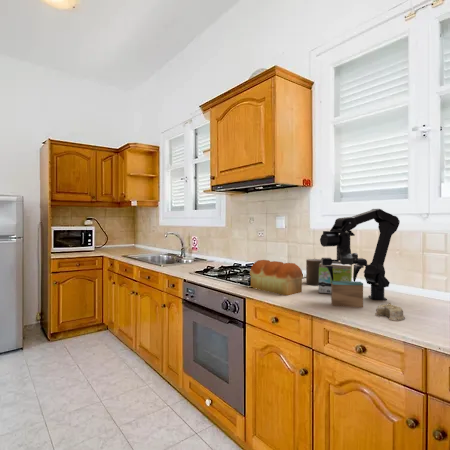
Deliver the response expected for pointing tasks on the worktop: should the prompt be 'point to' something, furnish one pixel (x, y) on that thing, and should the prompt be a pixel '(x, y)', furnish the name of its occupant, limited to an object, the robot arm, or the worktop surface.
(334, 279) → the tea box
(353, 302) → the slab
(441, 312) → the worktop surface
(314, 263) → the pillar candle
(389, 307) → the cake
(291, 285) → the bread
